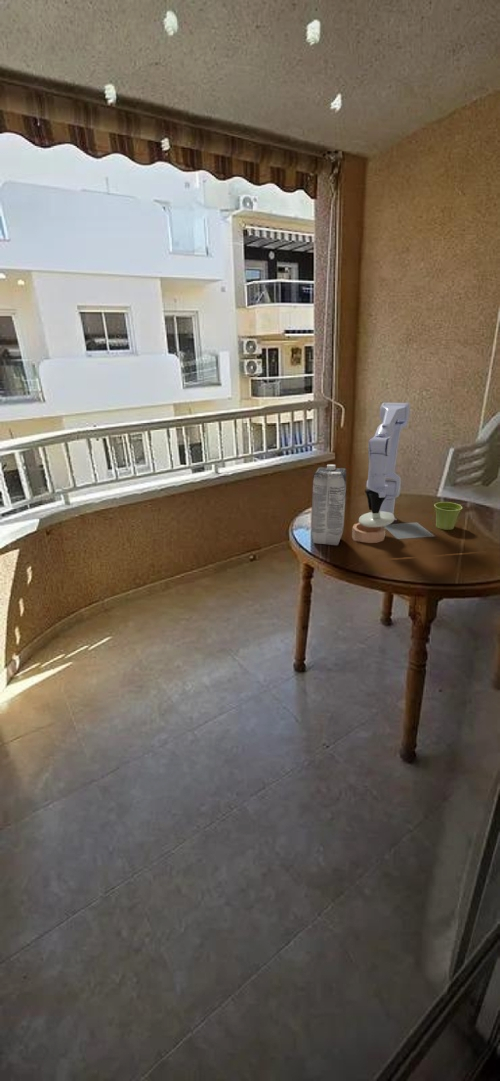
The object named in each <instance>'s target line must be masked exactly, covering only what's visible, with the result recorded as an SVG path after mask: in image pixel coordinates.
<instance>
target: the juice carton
mask: <svg viewBox="0 0 500 1081" xmlns="http://www.w3.org/2000/svg"><path fill="white" fill-rule="evenodd" d="M346 491H347V469H346V468H337V467H336V464H327V465H326V467H322V466H319V467H318V468H317V470H316V471H315V472H314V474H313V482H312V502H311V503H312V504H311V505H312V506H311V507H312V510H311V511H312V512H311V534H312V535H311V536H312V537H311V538H312V541H313V543H314V544H319V545H330V546H339V543H340V540H341V538H342V535H343V532H344V526H345V515H346V514H345V513H346V512H345V511H346V498H347V495H346V494H347V492H346Z"/></svg>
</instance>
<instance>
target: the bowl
mask: <svg viewBox="0 0 500 1081" xmlns="http://www.w3.org/2000/svg"><path fill="white" fill-rule="evenodd" d="M386 530H387V529H386V528H385V527H384V526H382V527H366V526H363V525H361V524H360V523H359V522H357V523H354V524H353V526H352V530H351V532H352V533H351V538H352V540H353V541H355V542H357V543H359V542H361V543H366V544H374V543H375V544H377V543H380V542H383V541H384V540H385V537H386Z"/></svg>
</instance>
